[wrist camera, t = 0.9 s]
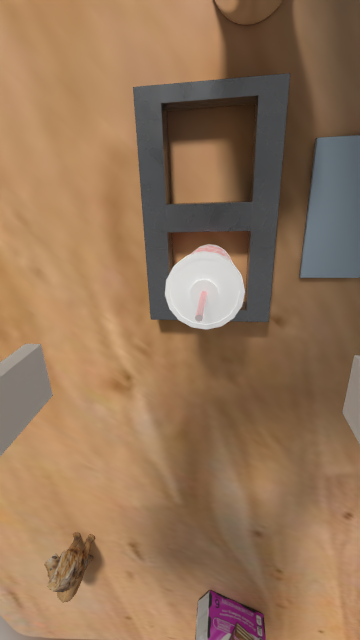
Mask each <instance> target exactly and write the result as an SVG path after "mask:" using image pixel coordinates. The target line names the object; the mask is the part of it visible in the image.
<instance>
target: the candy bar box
mask: <svg viewBox="0 0 360 640" xmlns="http://www.w3.org/2000/svg"><path fill="white" fill-rule="evenodd" d="M195 640H266V639H265V627H264V616H263V614H261V613H259V612H257V611H254V610H252V609H250V608H248V607H246V606H244V605H241V604H239V603H237V602H235V601H233V600H230V599H228V598H226V597H224V596H222V595H220V594H217V593H215V592H213V591H211V590H209V591H208V592H207V593H206V594H205V595H204V596H203V597H202V598H201V599H200V600H199V601H198V607H197V622H196V637H195Z"/></svg>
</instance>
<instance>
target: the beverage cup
mask: <svg viewBox="0 0 360 640" xmlns="http://www.w3.org/2000/svg"><path fill="white" fill-rule="evenodd" d="M244 294H245V289H244V284H243V280H242V275H241V273H240V272H239V271H238V269H237V268H236V266H235V265H234V264H233V262H232V260H231V258H230V256H229V255H228V253H227V252H226V251H225V250H224V249H223V248H221V247H219V246H217V245H211V244H207V245H203V246H200V247H198V248H197V249H196V250H195V251H193V252H192V253H191V254H190V255H187V256H186V257H184V258H183V259H182V260H181V261H179V262H178V263H177V264H175V265H174V267H173V268H172V270H171V272H170V274H169V276H168V278H167V279H166V287H165V297H166V300H167V303H168V306H169V309H170V310H171V311H172V313H173V314H174V315H175V316H176V317H177V319H178V320H179V321H181V322H183V323H185V324H187V325H188V326H190V327H193V328H199V329H206V330H207V329H212V328H216V327H221V326H223V325H224V324H226V323H227V322H229V321H230V320H232V319H233V318H234V317H235V316H236V314H237V313H238V311H239V310H240V308H241V307H242V304H243V299H244Z"/></svg>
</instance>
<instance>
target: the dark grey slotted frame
mask: <svg viewBox="0 0 360 640" xmlns="http://www.w3.org/2000/svg"><path fill="white" fill-rule="evenodd" d="M289 81H290V73H287V74H276V75H265V76H253V77H242V78H231V79H219V80H208V81H197V82H185V83H174V84H163V85H151V86H140V87H133V93H134V106H135V119H136V132H137V145H138V158H139V171H140V184H141V197H142V210H143V223H144V237H145V250H146V263H147V276H148V289H149V302H150V315H151V319H153V320H178V319H177V317H176V316H175V315H174V314H173V313H172V311H171V310H170V309H169V306H168V303H167V300H166V297H165V287H166V279H167V278H168V276H169V274H170V272H171V270H172V268H173V249H172V232H214V231H249V238H248V257H247V276H246V295H245V302H243V304H242V307H241V308H240V310H239V311H238V313H237V314H236V316H235V317H234V318H233V319H232V320H230V321H245V322H269V312H270V301H271V289H272V278H273V266H274V254H275V243H276V231H277V220H278V208H279V197H280V185H281V174H282V162H283V150H284V139H285V127H286V116H287V104H288V93H289ZM251 104H256V105H255V124H254V143H253V162H252V181H251V200H250V201H242V202H211V203H180V204H171V202H170V179H169V156H168V132H167V111H171V110H185V109H198V108H211V107H224V106H237V105H251Z"/></svg>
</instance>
